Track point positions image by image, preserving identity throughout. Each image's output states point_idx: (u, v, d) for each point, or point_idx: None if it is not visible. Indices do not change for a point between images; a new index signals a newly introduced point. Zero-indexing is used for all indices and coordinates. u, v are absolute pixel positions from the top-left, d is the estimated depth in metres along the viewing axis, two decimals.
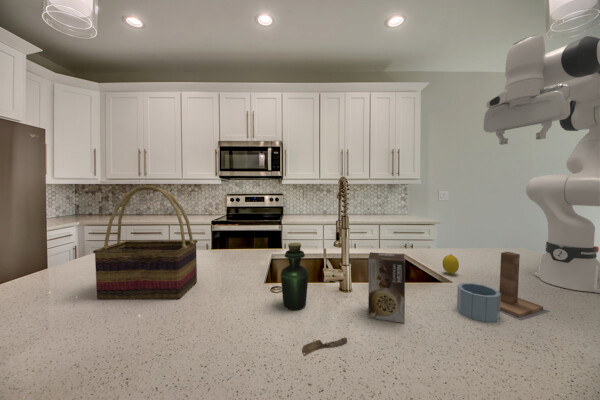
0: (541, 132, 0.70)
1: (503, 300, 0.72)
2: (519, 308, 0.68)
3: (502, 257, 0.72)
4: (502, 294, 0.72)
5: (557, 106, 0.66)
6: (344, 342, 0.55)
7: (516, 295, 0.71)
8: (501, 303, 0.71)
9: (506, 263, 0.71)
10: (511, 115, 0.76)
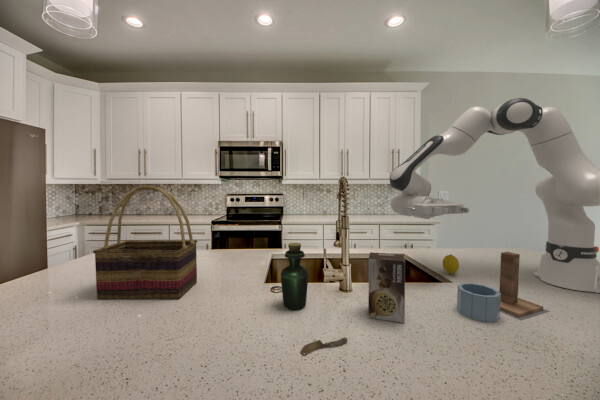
0: (442, 213, 0.85)
1: (503, 300, 0.72)
2: (519, 308, 0.68)
3: (502, 257, 0.72)
4: (502, 294, 0.72)
5: (420, 214, 0.90)
6: (344, 342, 0.55)
7: (516, 295, 0.71)
8: (501, 303, 0.71)
9: (506, 263, 0.71)
10: None
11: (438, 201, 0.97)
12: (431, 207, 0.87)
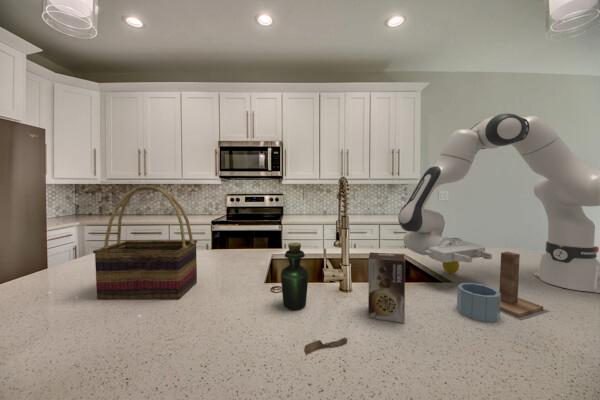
0: (464, 261, 0.79)
1: (503, 300, 0.72)
2: (519, 308, 0.68)
3: (502, 257, 0.72)
4: (502, 294, 0.72)
5: None
6: (344, 342, 0.55)
7: (516, 295, 0.71)
8: (501, 303, 0.71)
9: (506, 263, 0.71)
10: None
11: (457, 242, 0.90)
12: (451, 254, 0.81)
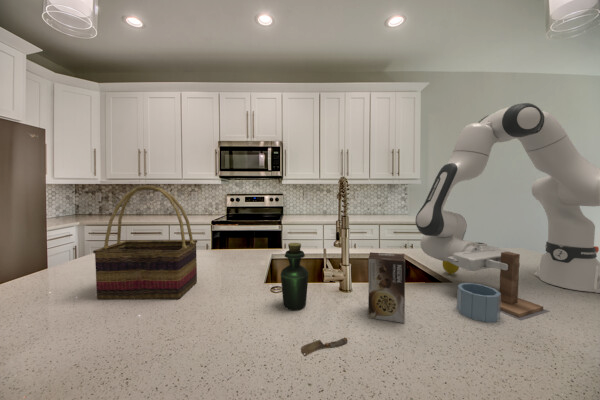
0: (500, 268, 0.71)
1: (503, 300, 0.72)
2: (519, 308, 0.68)
3: (502, 257, 0.72)
4: (502, 294, 0.72)
5: None
6: (344, 342, 0.55)
7: (516, 295, 0.71)
8: (501, 303, 0.71)
9: None
10: None
11: (482, 247, 0.82)
12: (479, 261, 0.72)
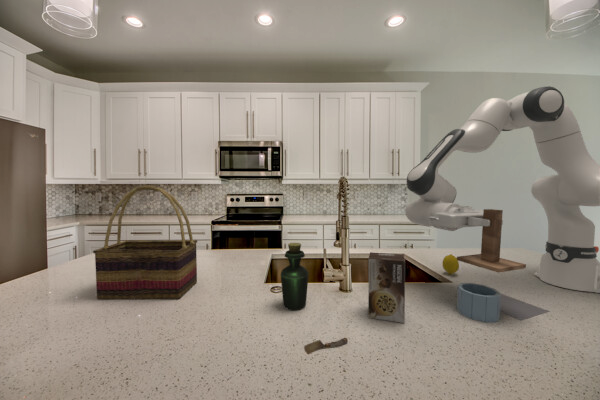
0: (482, 225, 0.68)
1: (485, 259, 0.69)
2: (500, 265, 0.65)
3: (484, 214, 0.69)
4: (484, 252, 0.69)
5: None
6: (344, 342, 0.55)
7: (498, 253, 0.68)
8: (482, 261, 0.68)
9: None
10: None
11: (466, 209, 0.79)
12: (461, 218, 0.69)
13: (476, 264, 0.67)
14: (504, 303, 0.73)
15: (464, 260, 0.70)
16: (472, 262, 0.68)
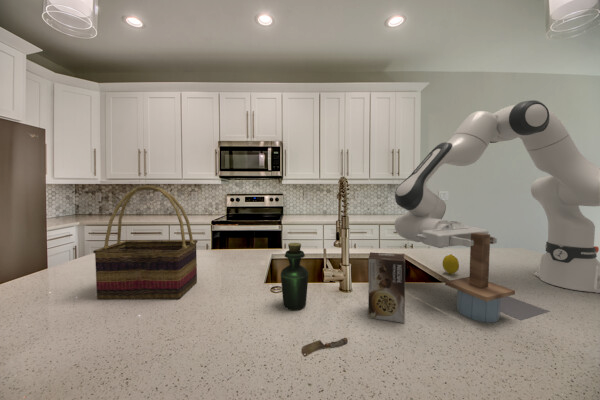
0: (463, 245, 0.65)
1: (473, 284, 0.67)
2: (488, 292, 0.63)
3: (472, 238, 0.67)
4: (472, 278, 0.67)
5: None
6: (344, 342, 0.55)
7: (486, 279, 0.66)
8: (470, 287, 0.66)
9: (476, 244, 0.66)
10: None
11: (455, 225, 0.77)
12: (448, 237, 0.67)
13: (464, 291, 0.65)
14: (504, 303, 0.73)
15: (452, 285, 0.68)
16: (460, 288, 0.66)
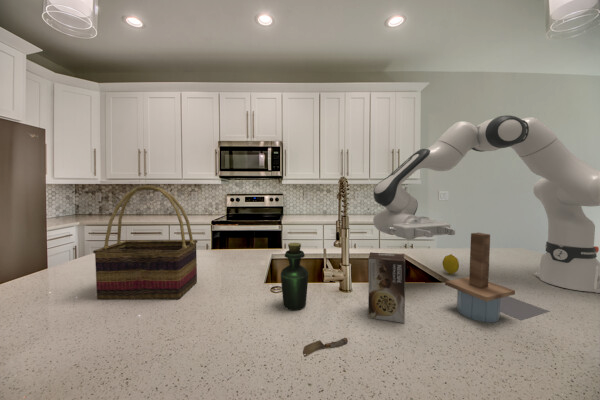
0: (425, 236, 0.76)
1: (473, 284, 0.67)
2: (488, 292, 0.63)
3: (472, 238, 0.67)
4: (472, 278, 0.67)
5: None
6: (344, 342, 0.55)
7: (486, 279, 0.66)
8: (470, 287, 0.66)
9: (476, 244, 0.66)
10: None
11: (422, 220, 0.88)
12: (413, 229, 0.78)
13: (464, 291, 0.65)
14: (504, 303, 0.73)
15: (452, 285, 0.68)
16: (460, 288, 0.66)
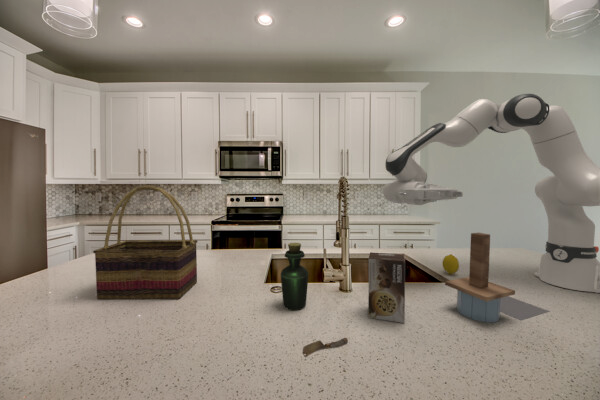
0: (434, 197, 0.81)
1: (473, 284, 0.67)
2: (488, 292, 0.63)
3: (472, 238, 0.67)
4: (472, 278, 0.67)
5: (411, 199, 0.85)
6: (345, 342, 0.55)
7: (486, 279, 0.66)
8: (470, 287, 0.66)
9: (476, 244, 0.66)
10: None
11: (431, 186, 0.93)
12: (423, 191, 0.83)
13: (464, 291, 0.65)
14: (504, 303, 0.73)
15: (452, 285, 0.68)
16: (460, 288, 0.66)
